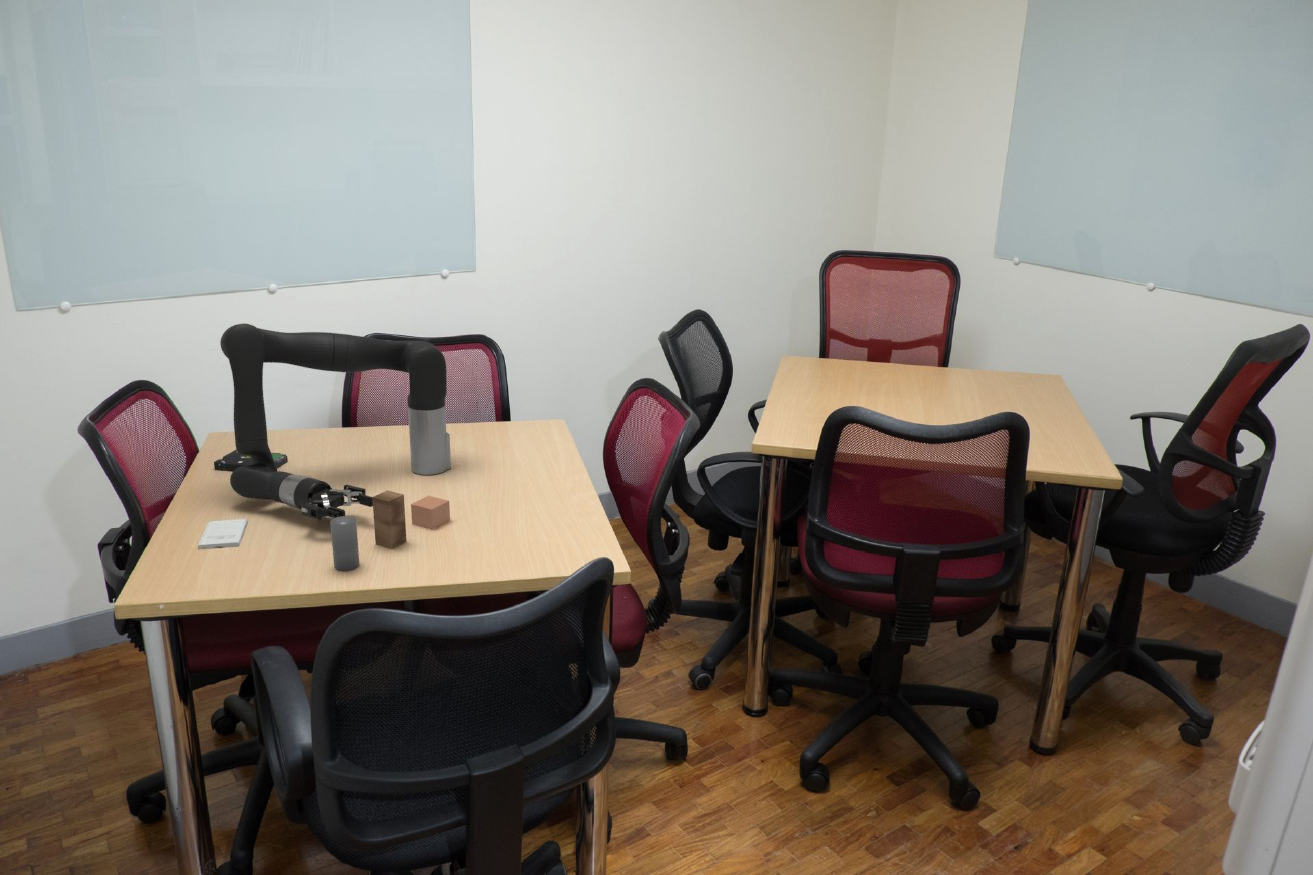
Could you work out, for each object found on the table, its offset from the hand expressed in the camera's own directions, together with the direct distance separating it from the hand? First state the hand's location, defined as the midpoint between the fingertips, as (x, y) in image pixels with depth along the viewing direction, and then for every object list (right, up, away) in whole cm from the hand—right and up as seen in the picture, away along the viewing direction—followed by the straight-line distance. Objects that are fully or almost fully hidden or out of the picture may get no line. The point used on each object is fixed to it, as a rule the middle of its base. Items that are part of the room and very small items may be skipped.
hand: (358, 508), depth 219 cm
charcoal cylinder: (+1, -11, -13) cm, 17 cm away
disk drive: (-39, +8, +40) cm, 57 cm away
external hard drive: (-29, -7, 0) cm, 30 cm away
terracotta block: (+14, -4, +9) cm, 17 cm away
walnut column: (+8, -7, -2) cm, 11 cm away
